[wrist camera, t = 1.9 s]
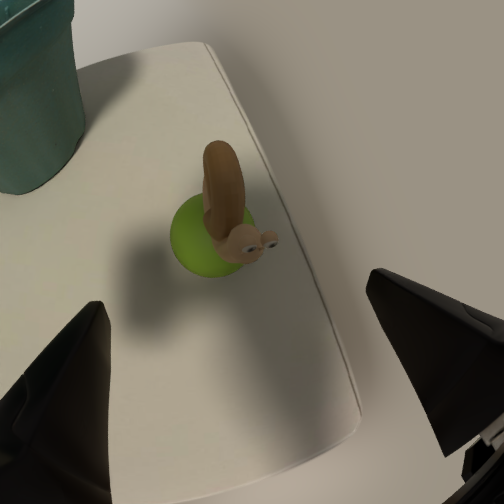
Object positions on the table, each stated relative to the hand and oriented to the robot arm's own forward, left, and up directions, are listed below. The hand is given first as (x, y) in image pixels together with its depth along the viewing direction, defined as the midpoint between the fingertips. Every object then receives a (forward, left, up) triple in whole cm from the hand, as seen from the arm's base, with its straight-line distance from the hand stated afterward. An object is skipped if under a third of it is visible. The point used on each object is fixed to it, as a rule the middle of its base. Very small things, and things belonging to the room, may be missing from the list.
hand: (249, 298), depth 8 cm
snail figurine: (+4, -1, -11) cm, 12 cm away
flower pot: (+20, +14, -11) cm, 27 cm away
